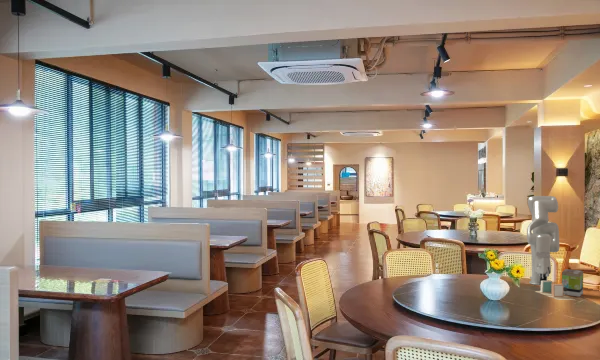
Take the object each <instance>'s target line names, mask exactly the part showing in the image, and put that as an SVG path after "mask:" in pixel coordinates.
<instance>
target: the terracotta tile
mask: <svg viewBox="0 0 600 360" xmlns="http://www.w3.org/2000/svg"><path fill="white" fill-rule="evenodd" d="M552 296H553V297H563V284H562V283H559V284H558V283H552Z"/></svg>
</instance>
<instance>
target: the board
mask: <svg viewBox="0 0 600 360" xmlns="http://www.w3.org/2000/svg"><path fill="white" fill-rule="evenodd" d="M534 292H535V293H538V294H541V295H544V296H546V297H549V298H552V299H555V300H557V301H561V300H562V301H563V300H565V301H566V300H567V301H570V300H571V301H574V300H576V299H575V298H572V297H570V296H568V295H563V297H553V296H552V293H542V292H540V290H536V291H535V290H534Z"/></svg>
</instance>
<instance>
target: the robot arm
mask: <svg viewBox="0 0 600 360" xmlns="http://www.w3.org/2000/svg"><path fill="white" fill-rule="evenodd" d="M527 204H528V205H527V206H528V209H529V212H530V214H531V222H530V223H529V225H528V226H527V228H526V241H527V243H528V244H529V245H530V251H531V253H530V254H531V276H530V277H529V279H530V280H529V282H528V283H529V284H531V285H534V286H541V281H543V280H548V277H550V274H552V263H551V253H558V252H559V251H560V230H559V225H558V223H556V222H553V221H551V222H550V221H549V213H557V212H558V210H559V202H558V200H557V198H556V196H554V195H553V196H552V195H533V196H529V197H528V199H527Z"/></svg>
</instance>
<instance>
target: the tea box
mask: <svg viewBox="0 0 600 360" xmlns="http://www.w3.org/2000/svg"><path fill="white" fill-rule="evenodd" d="M561 284H563V295H564V296H571V297H572V296H573V297H581V296H582V295H583V294H584V271H583V270H580V269H579V270H577V269H570V268H569V269H567V268H565V269H564V270H563V271H562V272H561Z"/></svg>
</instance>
